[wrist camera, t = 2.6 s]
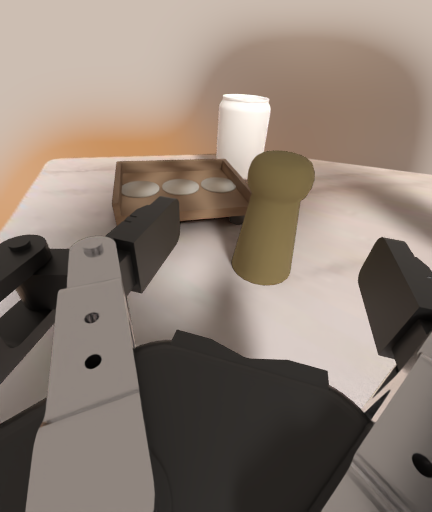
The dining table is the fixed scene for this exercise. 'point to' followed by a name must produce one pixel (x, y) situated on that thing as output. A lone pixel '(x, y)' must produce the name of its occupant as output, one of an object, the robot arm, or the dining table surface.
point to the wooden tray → (182, 188)
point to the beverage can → (242, 129)
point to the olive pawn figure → (272, 216)
